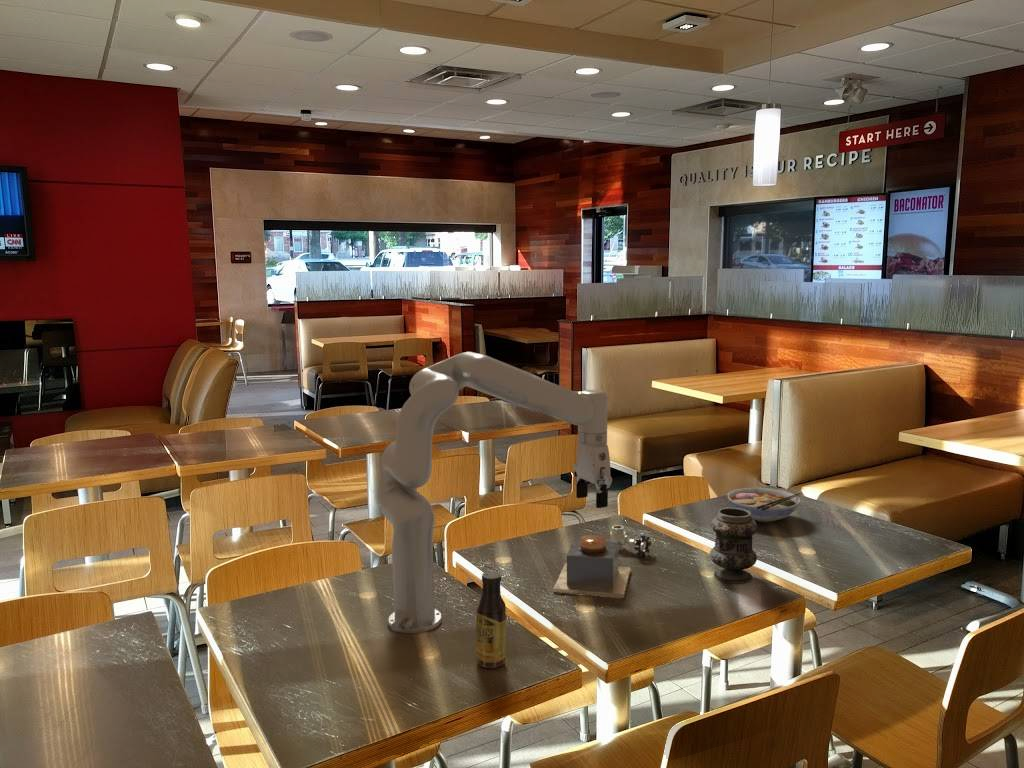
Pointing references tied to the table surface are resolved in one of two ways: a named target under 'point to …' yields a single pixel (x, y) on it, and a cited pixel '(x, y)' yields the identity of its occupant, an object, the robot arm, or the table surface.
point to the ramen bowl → (764, 503)
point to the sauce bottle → (491, 623)
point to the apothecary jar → (733, 545)
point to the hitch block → (593, 573)
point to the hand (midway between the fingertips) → (591, 502)
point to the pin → (592, 544)
